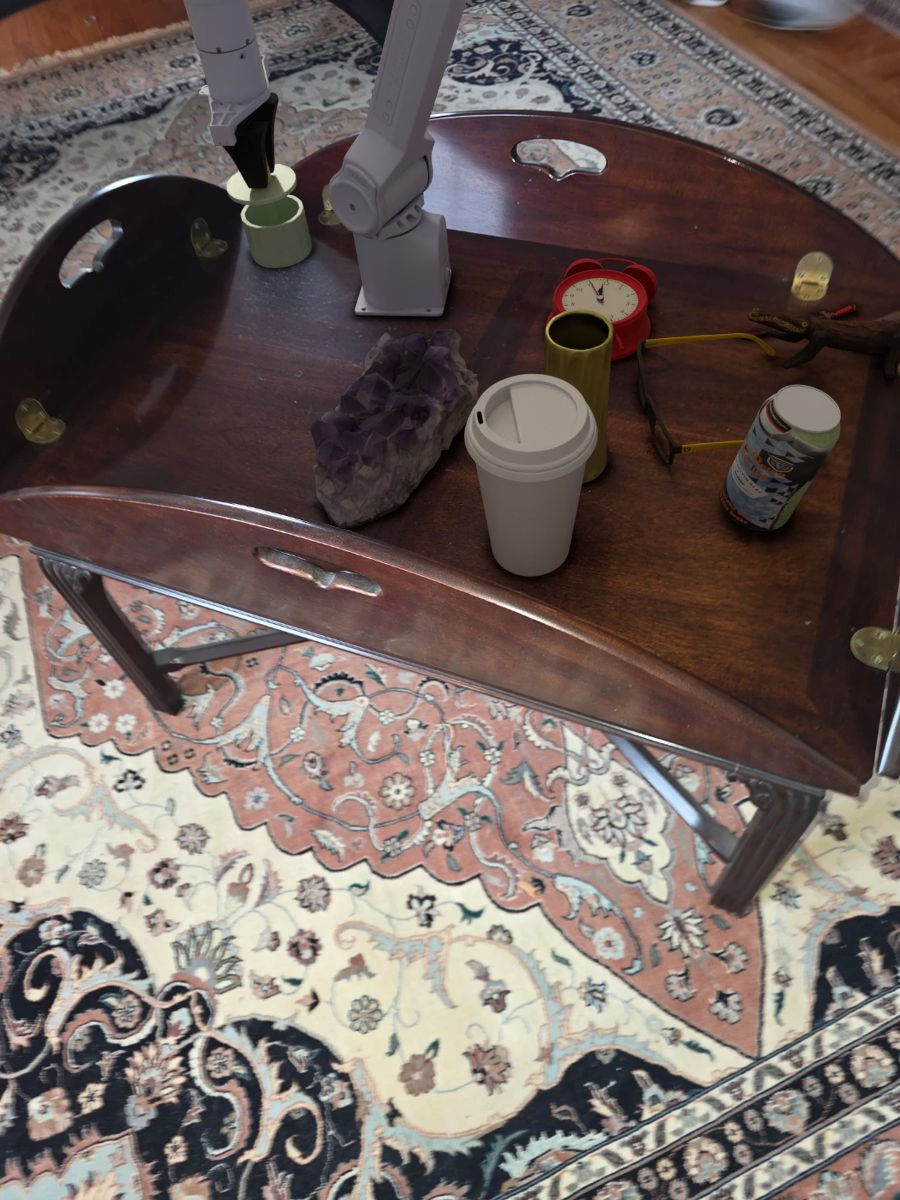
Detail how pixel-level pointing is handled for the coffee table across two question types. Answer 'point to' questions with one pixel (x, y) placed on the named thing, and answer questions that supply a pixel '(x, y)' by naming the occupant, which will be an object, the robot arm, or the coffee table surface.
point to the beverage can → (780, 457)
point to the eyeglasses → (651, 406)
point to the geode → (391, 426)
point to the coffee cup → (530, 467)
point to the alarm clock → (610, 299)
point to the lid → (277, 188)
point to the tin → (277, 232)
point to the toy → (831, 336)
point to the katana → (821, 317)
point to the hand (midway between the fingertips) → (261, 178)
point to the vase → (583, 368)
